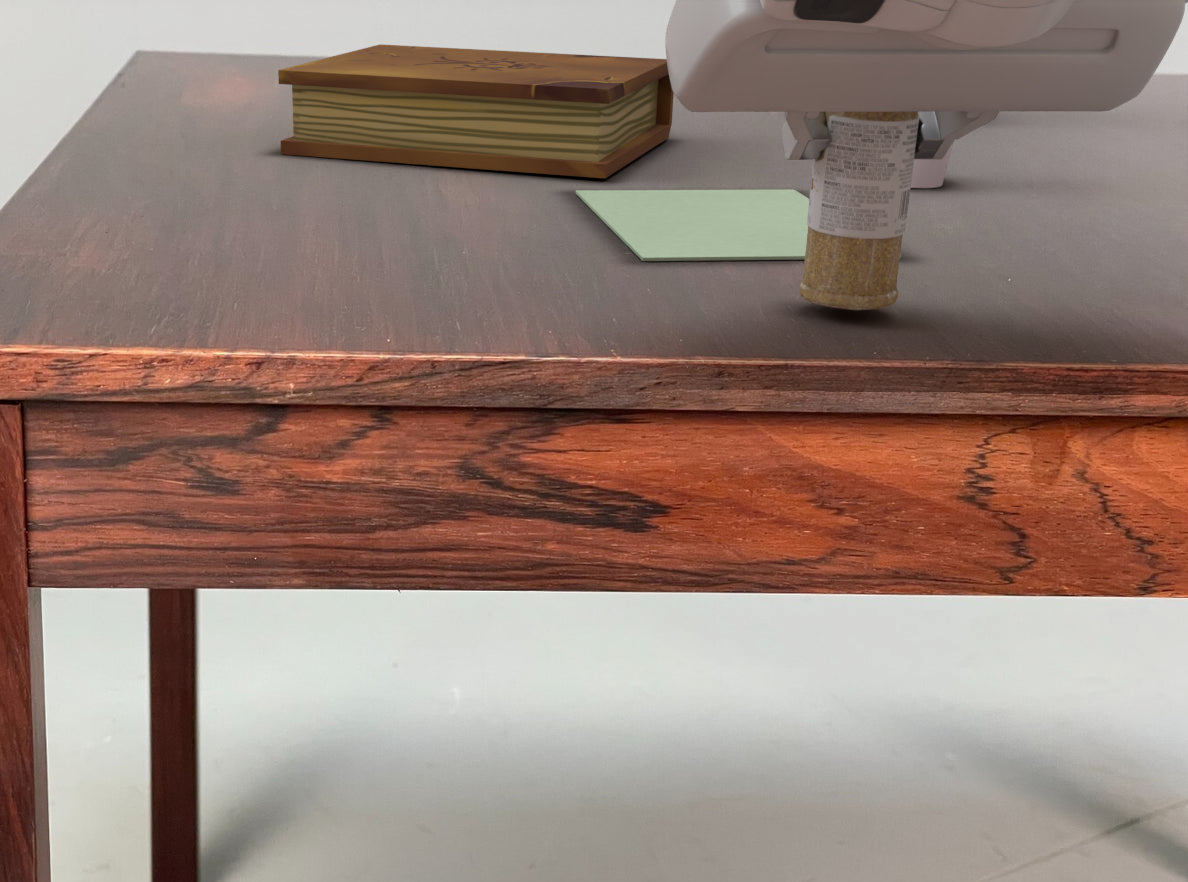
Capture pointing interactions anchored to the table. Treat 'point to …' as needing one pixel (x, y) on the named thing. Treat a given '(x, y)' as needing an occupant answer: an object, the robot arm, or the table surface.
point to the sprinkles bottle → (859, 210)
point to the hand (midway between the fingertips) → (859, 147)
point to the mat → (705, 223)
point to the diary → (480, 109)
